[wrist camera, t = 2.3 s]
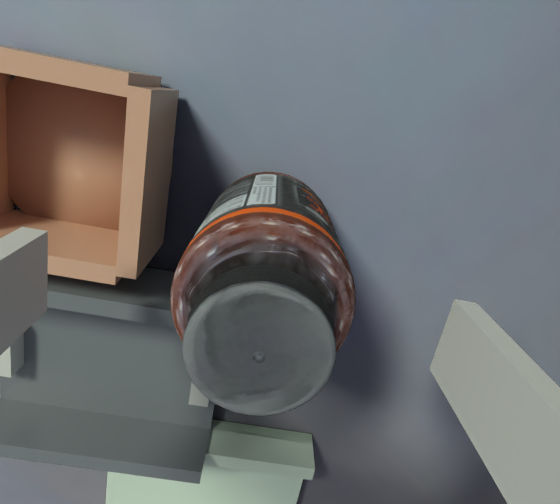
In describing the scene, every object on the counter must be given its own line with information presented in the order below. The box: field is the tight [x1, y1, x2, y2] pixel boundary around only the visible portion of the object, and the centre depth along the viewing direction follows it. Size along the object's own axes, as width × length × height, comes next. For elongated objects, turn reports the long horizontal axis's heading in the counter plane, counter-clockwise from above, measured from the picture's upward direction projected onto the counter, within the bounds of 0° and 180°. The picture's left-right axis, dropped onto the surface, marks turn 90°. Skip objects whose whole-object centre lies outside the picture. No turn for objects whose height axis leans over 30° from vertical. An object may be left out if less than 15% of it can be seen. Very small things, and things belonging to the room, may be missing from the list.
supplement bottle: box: [170, 172, 356, 416], centre depth 16 cm, size 6×6×11 cm
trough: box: [106, 419, 315, 504], centre depth 26 cm, size 12×10×3 cm
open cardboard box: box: [0, 45, 179, 285], centre depth 18 cm, size 8×8×5 cm
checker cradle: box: [0, 267, 215, 484], centre depth 22 cm, size 12×10×4 cm
